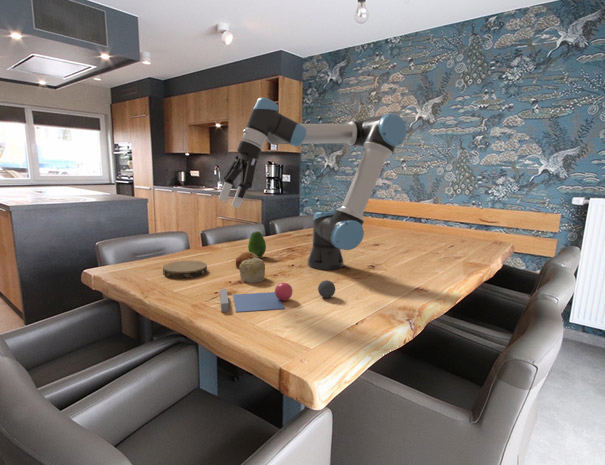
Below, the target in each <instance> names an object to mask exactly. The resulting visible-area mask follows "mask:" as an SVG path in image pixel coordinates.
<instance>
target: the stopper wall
mask: <svg viewBox="0 0 605 465" xmlns="http://www.w3.org/2000/svg"><path fill="white" fill-rule="evenodd" d="M219 298H220V299H219V300H220V312H221V313H224V312H226V313H227V312H229V310H230V309H229V306H230V305H229V299H228V290H227V288H222V289H221V288H220V289H219Z"/></svg>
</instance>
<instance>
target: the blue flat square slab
mask: <svg viewBox="0 0 605 465" xmlns="http://www.w3.org/2000/svg"><path fill="white" fill-rule="evenodd" d="M232 298H233V299H232V300H233V303H234V307H235V313H243V312H244V313H246V312H248V313H249V312H259V311H271V310H272V311H273V310H274V311H276V310H285V309H286V307H285V305H284V303H283V302H282V300H279V299H278V298H277V297H276V295H275V291H271V292H269V291H268V292H254V293H253V292H251V293H238V294H237V293H235V294H232Z"/></svg>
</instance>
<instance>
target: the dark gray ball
mask: <svg viewBox="0 0 605 465" xmlns="http://www.w3.org/2000/svg"><path fill="white" fill-rule="evenodd" d="M317 291H318V294H319V295H320V296H321V297H322V298H325V299H328V298H331V297H333V296H334V295H335V292H336V286H335V283H334V282H332V281H331V280H322V281H321V282H320V283H319V284H318V287H317Z"/></svg>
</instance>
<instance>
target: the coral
mask: <svg viewBox="0 0 605 465" xmlns="http://www.w3.org/2000/svg"><path fill="white" fill-rule="evenodd" d="M238 270H239V276H240V280H241V282H245V283H251V284H253V283H261V282H262V281H263V282H264V279H265V276H266V271H265V270H266V264H265V263H264V261H263V260H262V259H261V258H260V257H258V258H254V259H247V260H245V261H243V262H242V263H241V264H240V266H239V269H238Z"/></svg>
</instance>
